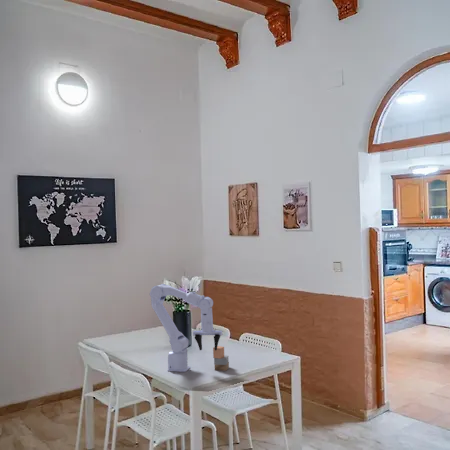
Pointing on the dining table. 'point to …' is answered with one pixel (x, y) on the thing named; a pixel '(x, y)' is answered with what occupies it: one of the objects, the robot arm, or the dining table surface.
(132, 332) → the dining table surface
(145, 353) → the dining table surface
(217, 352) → the tan clay cube
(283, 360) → the dining table surface
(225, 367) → the walnut slab
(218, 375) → the dining table surface
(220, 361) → the slate slab
